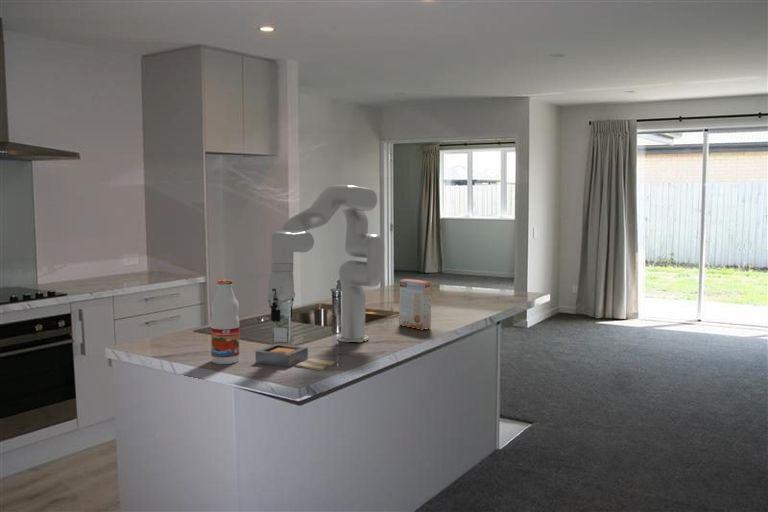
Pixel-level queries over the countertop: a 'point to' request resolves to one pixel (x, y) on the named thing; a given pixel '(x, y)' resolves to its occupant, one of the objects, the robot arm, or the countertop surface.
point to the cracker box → (415, 303)
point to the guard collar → (281, 355)
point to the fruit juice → (225, 325)
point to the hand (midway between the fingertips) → (281, 318)
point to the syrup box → (282, 324)
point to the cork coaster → (315, 364)
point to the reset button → (282, 350)
